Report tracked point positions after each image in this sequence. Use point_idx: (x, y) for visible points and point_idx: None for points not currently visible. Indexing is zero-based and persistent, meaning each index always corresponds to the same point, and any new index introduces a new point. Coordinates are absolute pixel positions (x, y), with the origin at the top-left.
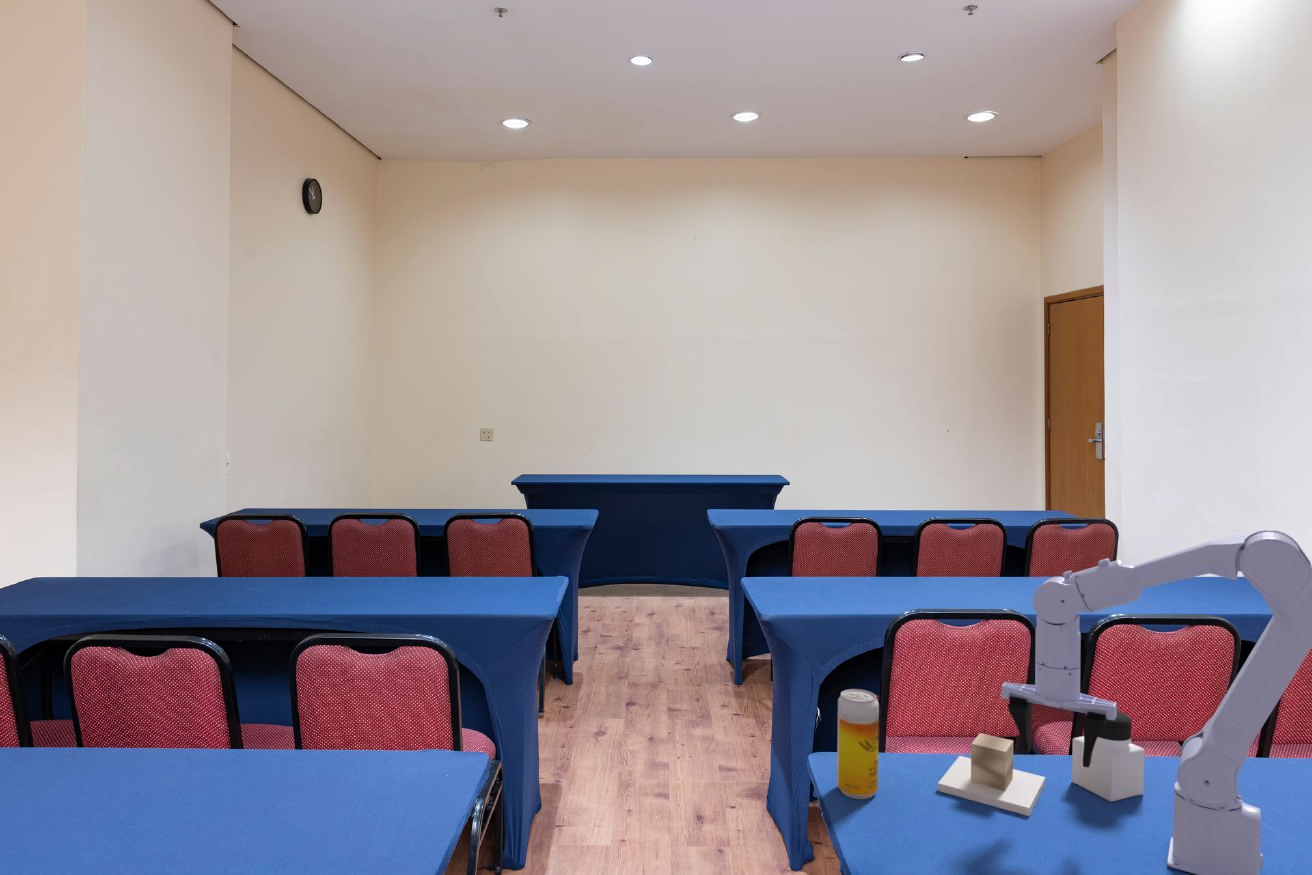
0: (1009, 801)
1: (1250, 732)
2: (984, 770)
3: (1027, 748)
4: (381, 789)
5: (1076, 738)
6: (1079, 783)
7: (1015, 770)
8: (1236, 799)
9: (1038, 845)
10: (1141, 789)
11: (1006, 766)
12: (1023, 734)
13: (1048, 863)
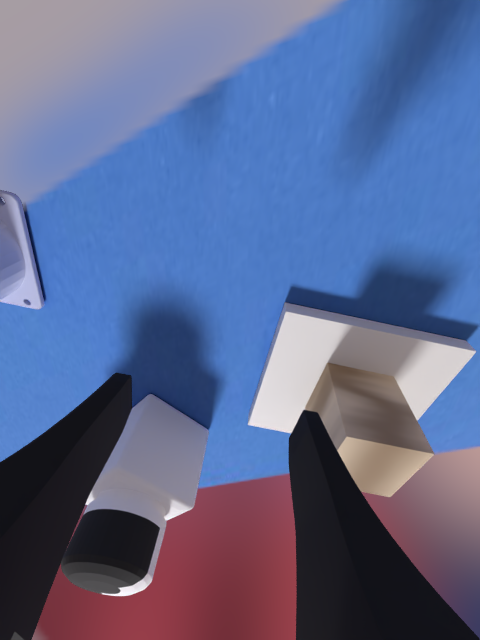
0: (324, 325)
1: None
2: (377, 395)
3: (309, 423)
4: None
5: (186, 508)
6: (197, 425)
7: None
8: None
9: (276, 171)
10: None
11: (333, 407)
12: (337, 475)
13: (257, 68)
